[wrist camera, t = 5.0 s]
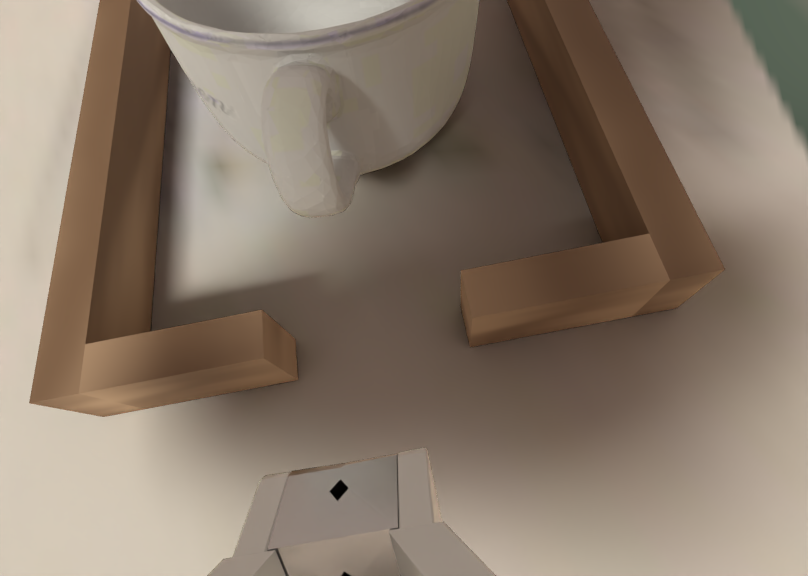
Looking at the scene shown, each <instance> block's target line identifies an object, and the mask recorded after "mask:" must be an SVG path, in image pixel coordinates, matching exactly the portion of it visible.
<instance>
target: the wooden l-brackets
mask: <svg viewBox="0 0 808 576" xmlns="http://www.w3.org/2000/svg"><path fill="white" fill-rule="evenodd" d="M507 1H508V4H509V6H510V9H511V11H512V14H513V17H514V19H515V22H516V24H517V27H518V29H519V32H520V34H521V37H522V39H523V42H524V44H525V47H526V49H527V52H528V55H529V57H530V60H531V62H532V65H533V67H534V70H535V72H536V75H537V77H538V80H539V82H540V85H541V87H542V90H543V93H544V95H545V98H546V100H547V103H548V105H549V108H550V110H551V113H552V115H553V118H554V120H555V123H556V125H557V128H558V131H559V133H560V136H561V138H562V141H563V143H564V146H565V148H566V151H567V153H568V156H569V158H570V161H571V163H572V166H573V169H574V171H575V174H576V176H577V179H578V181H579V184H580V186H581V189H582V191H583V194H584V196H585V199H586V202H587V204H588V207H589V209H590V212H591V214H592V217H593V219H594V222H595V224H596V227H597V229H598V232H599V234H600V237H601V240H602V242H603V243H599V244H593V245H588V246H583V247H578V248H573V249H568V250H563V251H558V252H553V253H548V254H542V255H537V256H532V257H527V258H522V259H517V260H512V261H507V262H502V263H497V264H492V265H486V266H481V267H476V268H471V269H466V270H461V311H462V315H463V320H464V324H465V328H466V333H467V337H468V341H469V346H470V347H475V346H480V345H485V344H490V343H496V342H501V341H506V340H511V339H517V338H522V337H527V336H533V335H538V334H543V333H548V332H554V331H559V330H564V329H569V328H575V327H580V326H585V325H591V324H596V323H601V322H606V321H612V320H617V319H622V318H627V317H633V316H638V315H643V314H649V313H654V312H659V311H664V310H670V309H675V308H678V307H679V306H680V305H681V304H683V303H684V302H685V301H686V300H688V299H689V298H690V297H691V296H693V295H694V294H695V293H696V292H698V291H699V290H700V289H701V288H703V287H704V286H705V285H706V284H708V283H709V282H710V281H711V280H713V279H714V278H715V277H716V276H718V275H719V274H720V273H721V272H723V271H724V270H725V268H724V266H723V264H722V262H721V260H720V258H719V256H718V254H717V252H716V250H715V248H714V246H713V244H712V242H711V241H710V239H709V237H708V235H707V233H706V231H705V229H704V227H703V225H702V223H701V221H700V219H699V217H698V215H697V213H696V211H695V209H694V207H693V205H692V203H691V201H690V199H689V197H688V195H687V193H686V191H685V189H684V187H683V185H682V183H681V182H680V180H679V178H678V176H677V174H676V172H675V170H674V168H673V166H672V164H671V162H670V160H669V158H668V156H667V154H666V152H665V150H664V148H663V146H662V144H661V142H660V140H659V138H658V136H657V134H656V132H655V130H654V128H653V126H652V124H651V123H650V121H649V119H648V117H647V115H646V113H645V111H644V109H643V107H642V105H641V103H640V101H639V99H638V97H637V95H636V93H635V91H634V89H633V87H632V85H631V83H630V81H629V79H628V77H627V75H626V73H625V71H624V69H623V67H622V65H621V64H620V62H619V60H618V58H617V56H616V54H615V52H614V50H613V48H612V46H611V44H610V42H609V40H608V38H607V36H606V34H605V32H604V30H603V28H602V26H601V24H600V22H599V20H598V18H597V16H596V14H595V12H594V10H593V8H592V6H591V4H590V3H589V1H588V0H507ZM170 50H171V49H170V47H169V46H168V44H167V42H166V41H165V39H164V37H163V35H162V34H161V32H160V30H159V28H158V27H157V25H156V23H155V22H154V20H153V18H152V16H150V15H149V14H148V13H147V12H146V11H145V10H144V9H143V8H142V6H141V5H140V4H139V3H138V2H137V0H100V3H99V8H98V14H97V20H96V25H95V31H94V37H93V43H92V48H91V54H90V60H89V65H88V71H87V77H86V82H85V88H84V94H83V100H82V105H81V111H80V117H79V122H78V128H77V134H76V140H75V145H74V151H73V157H72V162H71V168H70V174H69V179H68V185H67V191H66V197H65V202H64V208H63V214H62V219H61V225H60V231H59V237H58V242H57V248H56V254H55V259H54V265H53V271H52V277H51V282H50V288H49V294H48V299H47V305H46V311H45V316H44V322H43V328H42V334H41V339H40V345H39V351H38V356H37V362H36V368H35V374H34V379H33V385H32V391H31V396H30V402H29V403H31V404H36V405H42V406H47V407H53V408H58V409H64V410H69V411H75V412H80V413H86V414H91V415H96V416H102V417H105V416H111V415H116V414H121V413H127V412H132V411H137V410H142V409H148V408H153V407H158V406H163V405H169V404H174V403H179V402H185V401H190V400H195V399H200V398H206V397H211V396H216V395H221V394H227V393H232V392H237V391H243V390H248V389H253V388H258V387H264V386H269V385H274V384H279V383H285V382H290V381H295V380H298V371H297V356H296V341H295V338H294V337H293V336H292V335H290V334H289V333H288V332H287V331H286V330H285V329H284V328H282V327H281V326H280V325H279V324H278V323H277V322H276V321H274V320H273V319H272V318H271V317H270V316H269V315H268V314H266V313H265V312H264V311H263V310H257V311H252V312H247V313H242V314H237V315H232V316H227V317H222V318H216V319H211V320H206V321H201V322H196V323H191V324H186V325H181V326H176V327H171V328H165V329H160V330H155V331H150V330H151V316H152V302H153V288H154V274H155V260H156V246H157V232H158V218H159V204H160V190H161V176H162V162H163V148H164V134H165V120H166V106H167V92H168V78H169V64H170Z"/></svg>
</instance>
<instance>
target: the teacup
mask: <svg viewBox="0 0 808 576" xmlns="http://www.w3.org/2000/svg"><path fill="white" fill-rule="evenodd" d="M479 1H480V0H137V2H138V3H139V4H140V5H141V6H142V8H143V9H144V10H145V11H146V12H147V13H148V14H149V15H150V16H152V18H153V20H154V22H155V23H156V25H157V27H158V28H159V30H160V32H161V34H162V35H163V37H164V39H165V41H166V42H167V44H168V46H169V47H170V49H171V51H172V52H173V54H174V56H175V57H176V59H177V61H178V62H179V64H180V66H181V67H182V69H183V71H184V72H185V74H186V75H187V77H188V79H189V80H190V82H191V83H192V85H193V87H194V88H195V90H196V91H197V93H198V94H199V96H200V97H201V99H202V100H203V102H204V103H205V105H206V106H207V108H208V109H209V111H210V112H211V113H212V115H213V116H214V117H215V118H216V120H217V121H218V122H219V124H220V125H221V126H222V128H223V129H224V130H225V131H226V132H227V133H228V134H229V135H230V136H231V137H232V139H233V140H234V141H235V142H237V143H238V144H239V145H240V146H241V147H243V148H244V149H245V150H246V151H247V152H249V153H251V154H252V155H254V156H255V157H257V158H258V159H260V160H262V161H263V162H265V163H267V164H269V168H270V171H271V175H272V178H273V180H274V182H275V185H276V187H277V189H278V192H279V194H280V196H281V198H282V200H283V201H284V202H285V203H286V205H287V206H288V207H289V208H290V210H291V211H293V212H295V213H296V214H299V215H301V216H305V217H311V218H313V217H325V216H331V215H335V214H338V213H341V212H343V211H345V210H346V208H347V207H348V206H349V205H350V203H351V201H352V197H353V194H354V189H355V184H356V183H357V182H358V180H359V177H360V175H361V174H365V173H368V172H372V171H375V170H379V169H382V168H385V167H387V166H390V165H392V164H394V163H396V162H398V161H400V160H402V159H404V158H406V157H408V156H410V155H412V154H413V153H415V152H416V151H417V150H418V149H420V148H421V147H422V146H424V145H425V144H426V143H427V142H429V141H430V140H431V139H432V138H433V137H434V136H435V135H436V134H437V133H438V132H439V131H440V129H441V128H442V127H443V126H444V125H445V123H446V122H447V121H448V119H449V118H450V116H451V115H452V113H453V111H454V109H455V108H456V106H457V104H458V102H459V100H460V97H461V95H462V92H463V90H464V87H465V83H466V80H467V76H468V72H469V68H470V63H471V58H472V51H473V45H474V38H475V31H476V24H477V16H478V8H479Z"/></svg>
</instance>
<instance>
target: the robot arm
mask: <svg viewBox="0 0 808 576" xmlns="http://www.w3.org/2000/svg"><path fill="white" fill-rule="evenodd" d="M207 576H496V575H495V574H494V573H493V572H492V571H491V570H490V569H489V568H488V567H487V566H486V565H485V564H484V563H483V562H482V561H481V560H480V559H479V557H478V556H477V555H476V554H475V553H474V552H473V551H472V550H471V549H470V548H469V547H468V546H467V545H466V544H465V543H464V542H463V541H462V540H461V539H460V538H459V537H458V536H457V535H456V534H455V533H454V532H453V531H452V530H451V529H450V528H449V527H448V526H447V525H446V524H445V523H444V522H442V519H441V513H440V508H439V503H438V497H437V493H436V488H435V483H434V479H433V474H432V469H431V465H430V460H429V455H428V452H427V449H426V448H425V447H423V448H418V449H413V450H408V451H403V452H399V453H396V454H390V455H385V456H380V457H374V458H369V459H363V460H358V461H353V462H347V463H341V464H334V465H328V466H321V467H314V468H308V469H301V470H295V471H292V472H285V473H279V474H272V475H266V476H264V477H263V478H262V479H261V480H260V482H259V484H258V487H257V489H256V492H255V495H254V498H253V501H252V503H251V506H250V509H249V512H248V515H247V517H246V520H245V523H244V526H243V529H242V531H241V534H240V537H239V540H238V543H237V545H236V548H235V551H234V554H233V557H231V558H226V559H223V560H222V561H221V562H220V563H219V564H218V565H217V566H216V567H215V568H214V569H213V570H212V571H211V572H210V573H209V574H208V575H207Z"/></svg>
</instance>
